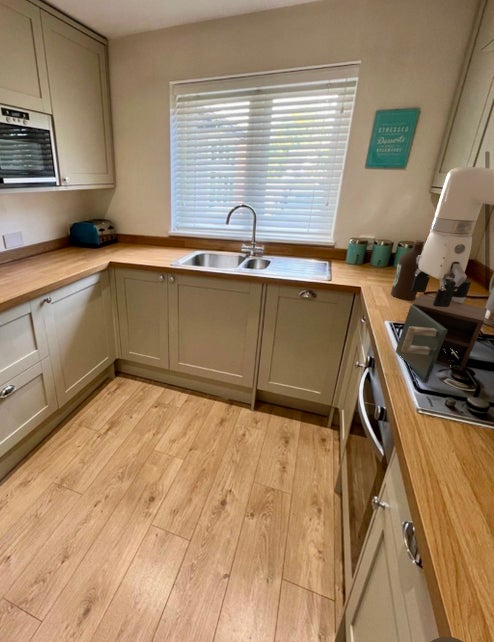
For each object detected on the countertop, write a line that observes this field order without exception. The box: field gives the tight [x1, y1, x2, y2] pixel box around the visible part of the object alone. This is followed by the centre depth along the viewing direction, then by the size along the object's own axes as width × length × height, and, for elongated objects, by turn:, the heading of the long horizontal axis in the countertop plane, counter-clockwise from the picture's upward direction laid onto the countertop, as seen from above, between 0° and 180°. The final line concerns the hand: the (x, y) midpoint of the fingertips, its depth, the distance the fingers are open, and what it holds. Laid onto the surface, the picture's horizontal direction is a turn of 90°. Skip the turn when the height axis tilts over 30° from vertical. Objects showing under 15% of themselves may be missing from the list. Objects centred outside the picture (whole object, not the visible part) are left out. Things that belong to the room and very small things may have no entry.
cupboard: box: [412, 293, 487, 369], centre depth 98 cm, size 12×16×16 cm
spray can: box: [446, 278, 472, 304], centre depth 110 cm, size 7×7×20 cm
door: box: [395, 304, 447, 384], centre depth 92 cm, size 7×16×16 cm, turn 173°
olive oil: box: [390, 239, 425, 301], centre depth 143 cm, size 11×11×25 cm
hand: (428, 298), depth 80 cm, fingers open, 9 cm apart
